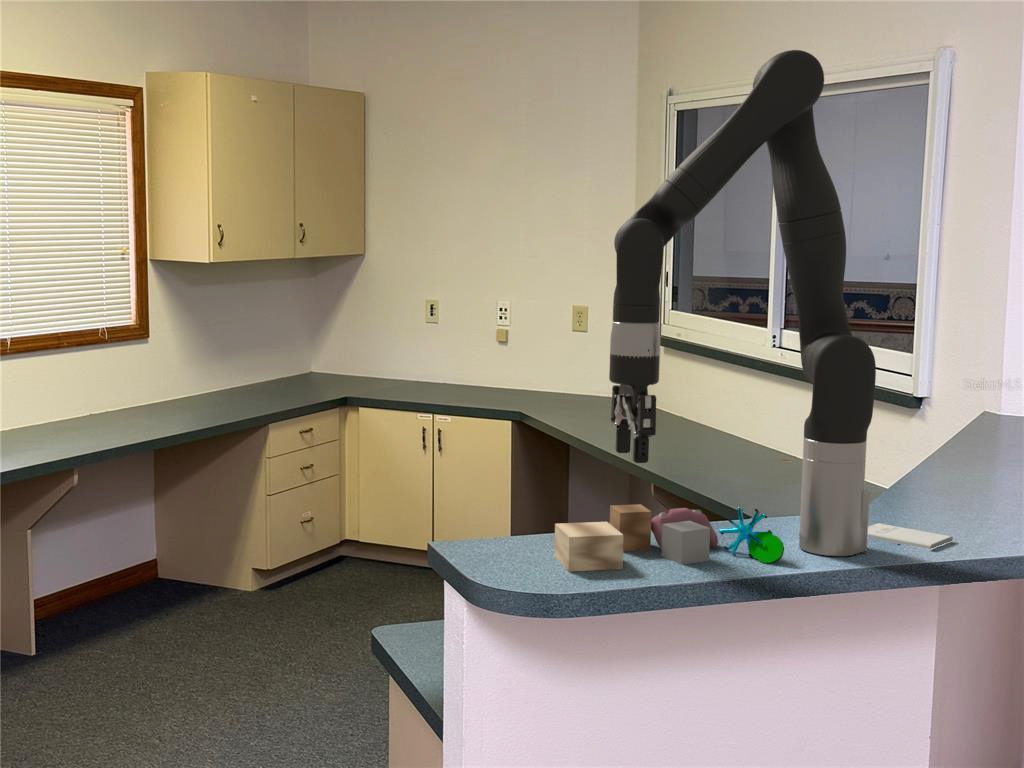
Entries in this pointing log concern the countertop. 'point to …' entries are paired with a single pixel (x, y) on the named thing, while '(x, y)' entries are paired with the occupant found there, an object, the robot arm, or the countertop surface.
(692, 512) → the video game controller
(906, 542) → the external hard drive
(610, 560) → the birch block
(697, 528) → the grey cube
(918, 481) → the countertop surface
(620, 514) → the walnut block
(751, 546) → the stick construction toy
